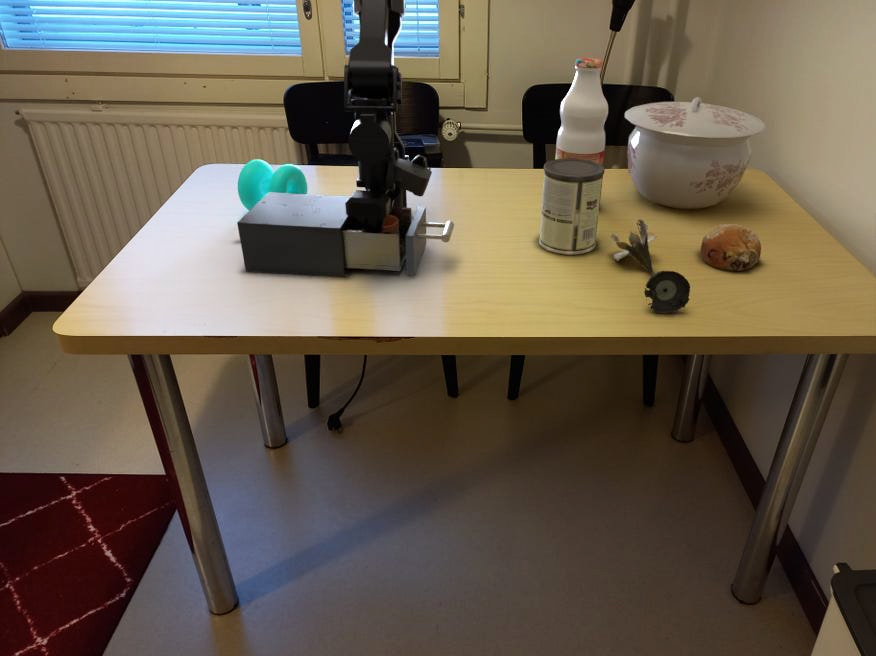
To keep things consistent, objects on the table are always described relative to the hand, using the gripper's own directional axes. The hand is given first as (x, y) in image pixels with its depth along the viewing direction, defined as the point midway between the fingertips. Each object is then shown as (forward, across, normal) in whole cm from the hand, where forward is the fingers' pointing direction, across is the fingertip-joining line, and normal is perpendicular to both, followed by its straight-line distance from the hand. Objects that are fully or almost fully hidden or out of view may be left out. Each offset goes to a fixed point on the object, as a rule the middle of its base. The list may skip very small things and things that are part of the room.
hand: (381, 238), depth 114 cm
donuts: (+4, +18, +25) cm, 31 cm away
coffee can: (+4, +12, -32) cm, 34 cm away
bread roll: (+4, +8, -60) cm, 60 cm away
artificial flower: (+4, -2, -44) cm, 44 cm away
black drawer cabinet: (+4, 0, +13) cm, 13 cm away
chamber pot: (+4, +39, -56) cm, 69 cm away
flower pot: (+1, 0, 0) cm, 1 cm away
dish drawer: (+3, 0, -2) cm, 3 cm away
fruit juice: (+4, +31, -34) cm, 46 cm away
